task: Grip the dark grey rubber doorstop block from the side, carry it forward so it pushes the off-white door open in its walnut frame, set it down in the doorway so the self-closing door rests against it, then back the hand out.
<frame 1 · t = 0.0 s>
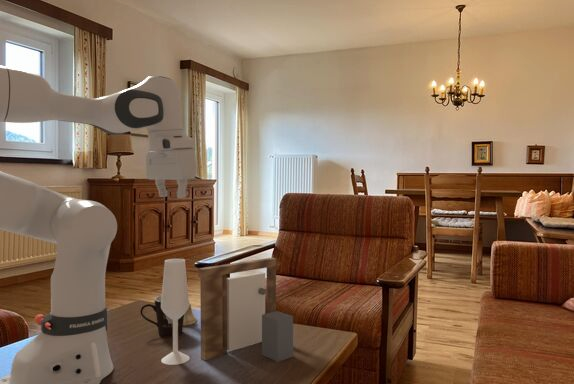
hand: (172, 197, 118), 39 cm above the table, tool pointing down, fingers open, 8 cm apart
doorstop: (277, 355, 115), on the table
hand bell: (183, 322, 142), on the table
door: (247, 310, 120), point 9 cm above the table, hinge at 0.0°
champagne flute: (175, 360, 112), on the table
door frame: (223, 353, 116), on the table
coffee mug: (165, 333, 131), on the table
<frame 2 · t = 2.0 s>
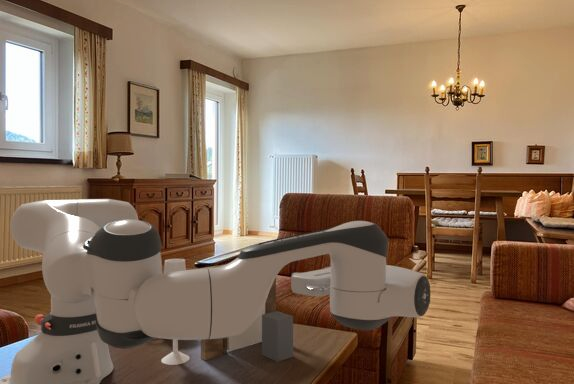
hand: (310, 273, 104), 22 cm above the table, tool horizontal, fingers open, 8 cm apart
nothing on the table moved.
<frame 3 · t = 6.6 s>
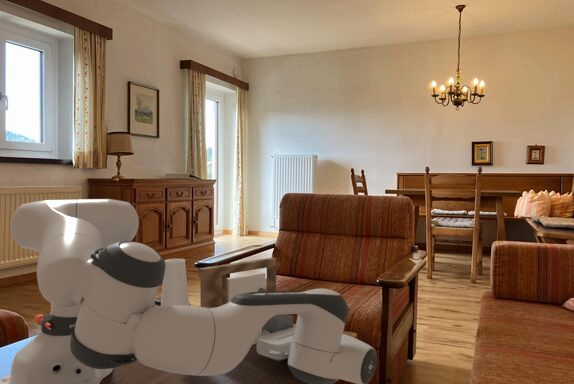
hand: (275, 330, 115), 6 cm above the table, tool horizontal, fingers closed on doorstop, 5 cm apart
doorstop: (277, 355, 115), on the table, touching gripper
everything else where it was.
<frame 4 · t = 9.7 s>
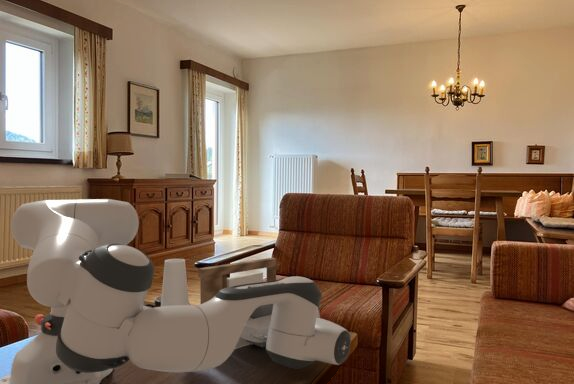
hand: (258, 317, 121), 8 cm above the table, tool horizontal, fingers closed on doorstop, 5 cm apart
doorstop: (261, 341, 120), point 1 cm above the table, touching door, gripper
door: (246, 310, 120), point 9 cm above the table, hinge at 4.5°, touching doorstop
everything else where it was.
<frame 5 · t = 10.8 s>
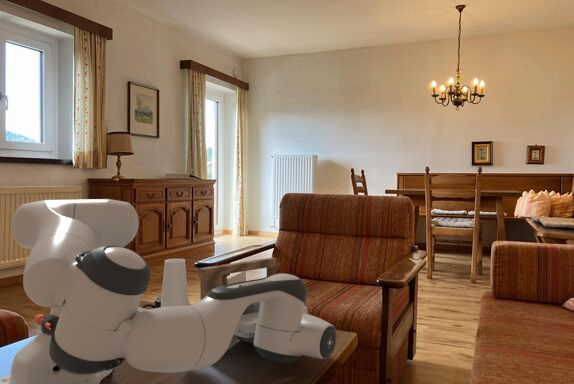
hand: (248, 313, 123), 8 cm above the table, tool horizontal, fingers closed on doorstop, 5 cm apart
doorstop: (252, 338, 123), point 1 cm above the table, touching gripper
door: (236, 308, 122), point 9 cm above the table, hinge at 30.7°, touching gripper
everything else where it was.
when the fingers open (7 cm above the table, at t = 12.3 s): doorstop stays where it is, on the table.
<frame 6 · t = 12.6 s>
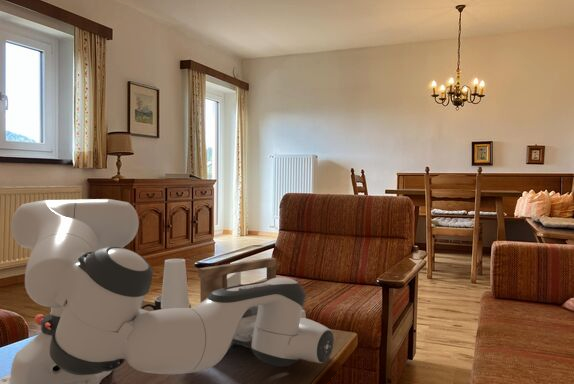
hand: (246, 316, 124), 7 cm above the table, tool horizontal, fingers open, 6 cm apart
doorstop: (250, 343, 123), on the table
door: (234, 308, 123), point 9 cm above the table, hinge at 37.7°, touching gripper
everything else where it was.
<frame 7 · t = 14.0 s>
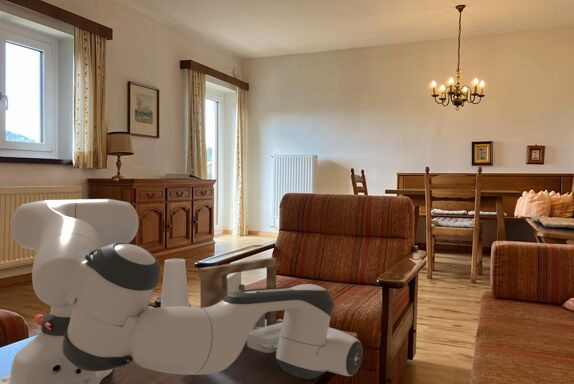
hand: (265, 325, 118), 6 cm above the table, tool horizontal, fingers open, 6 cm apart
doorstop: (250, 343, 123), on the table, touching door
door: (234, 308, 123), point 9 cm above the table, hinge at 36.9°, touching doorstop
everything else where it was.
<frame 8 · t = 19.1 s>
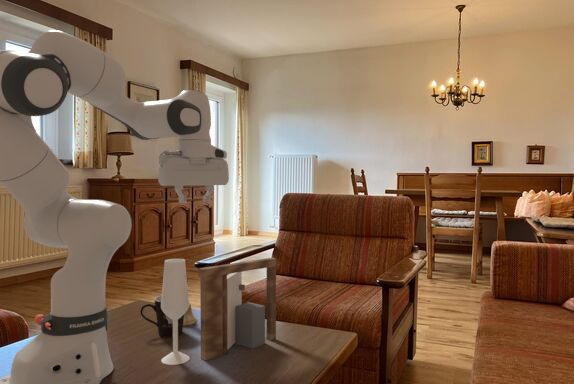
hand: (194, 202, 127), 37 cm above the table, tool pointing down, fingers open, 6 cm apart
doorstop: (250, 343, 123), on the table
door: (234, 308, 123), point 9 cm above the table, hinge at 36.6°
everything else where it was.
at the end: door at +37° (first picture: +0°); doorstop inside the target area (0.2 cm from its centre), on the table; doorstop tilted 0° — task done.
